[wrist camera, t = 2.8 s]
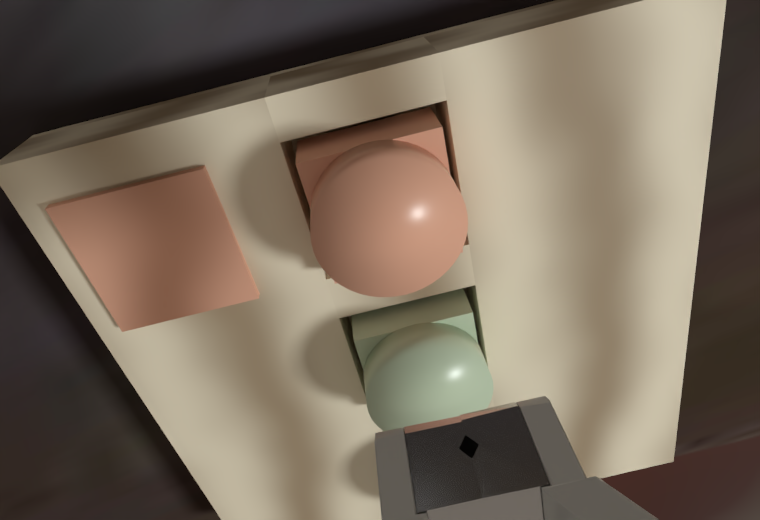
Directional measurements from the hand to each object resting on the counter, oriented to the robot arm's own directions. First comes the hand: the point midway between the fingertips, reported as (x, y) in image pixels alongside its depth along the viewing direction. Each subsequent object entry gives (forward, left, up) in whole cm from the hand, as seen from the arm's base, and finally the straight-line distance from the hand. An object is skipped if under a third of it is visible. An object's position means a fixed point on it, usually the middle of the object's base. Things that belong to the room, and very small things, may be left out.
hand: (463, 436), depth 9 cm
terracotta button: (0, 0, -11) cm, 11 cm away
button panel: (0, -7, -13) cm, 15 cm away
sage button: (0, -7, -11) cm, 13 cm away
